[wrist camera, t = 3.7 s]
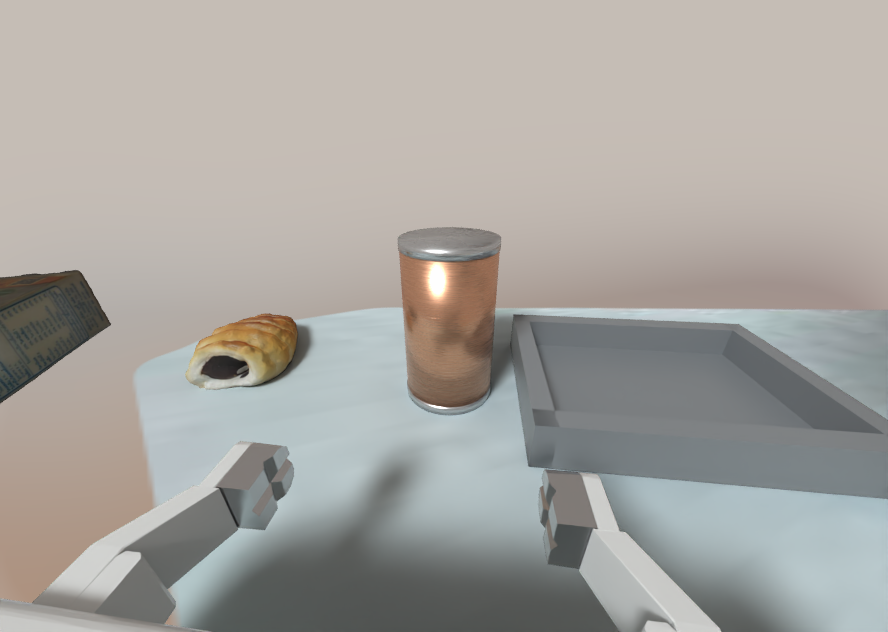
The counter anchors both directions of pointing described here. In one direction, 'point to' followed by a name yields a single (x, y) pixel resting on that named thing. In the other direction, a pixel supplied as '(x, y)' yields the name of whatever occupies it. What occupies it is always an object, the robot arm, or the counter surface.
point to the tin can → (449, 315)
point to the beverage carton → (43, 324)
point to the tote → (689, 407)
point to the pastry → (244, 353)
